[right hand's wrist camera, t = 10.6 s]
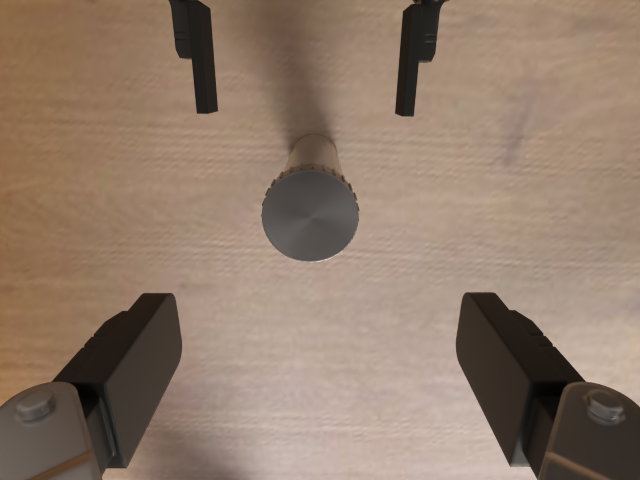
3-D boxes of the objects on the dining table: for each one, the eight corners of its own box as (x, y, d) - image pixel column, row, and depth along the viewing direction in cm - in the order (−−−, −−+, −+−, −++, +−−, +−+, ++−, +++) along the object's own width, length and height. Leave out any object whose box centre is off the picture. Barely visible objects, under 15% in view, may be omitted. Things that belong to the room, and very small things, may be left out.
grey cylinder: (345, 165, 35) (366, 229, 20) (306, 188, 36) (296, 266, 21) (322, 124, 34) (325, 158, 19) (282, 149, 35) (253, 201, 19)
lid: (373, 224, 21) (377, 235, 20) (295, 265, 22) (293, 279, 21) (328, 144, 20) (329, 149, 18) (246, 192, 21) (240, 200, 19)
